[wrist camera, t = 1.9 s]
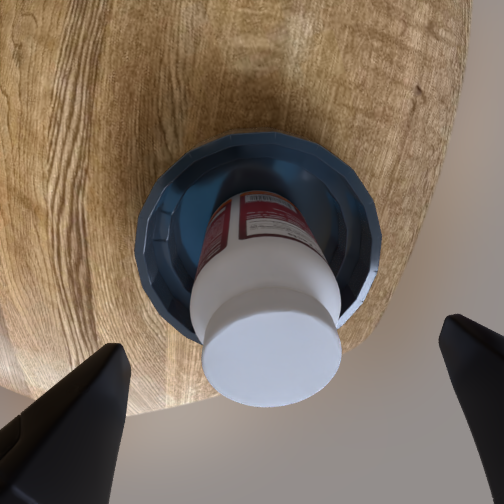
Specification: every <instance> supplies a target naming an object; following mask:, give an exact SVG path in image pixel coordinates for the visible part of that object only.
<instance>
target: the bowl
mask: <svg viewBox="0 0 504 504" xmlns="http://www.w3.org/2000/svg"><path fill="white" fill-rule="evenodd" d="M253 190H261V191H269V192H273V193H276V194H278V195H280V196H282V197H284V198H286V199H287V200H289V201H290V202H291V203H292V204H293V205H294V206H295V207H296V208H297V209H298V210H299V211H300V213H301V214H302V216H303V217H304V219H305V221H306V223H307V225H308V227H309V229H310V230H311V232H312V234H313V236H314V238H315V240H316V242H317V243H318V245H319V247H320V249H321V251H322V253H323V255H324V257H325V259H326V261H327V263H328V264H329V266H330V268H331V270H332V272H333V274H334V276H335V279H336V281H337V284H338V287H339V290H340V297H341V310H340V316H339V320H338V323H337V325H336V330H337V329H338V328H340V327H341V326H342V325H343V324H344V323H345V322H346V321H347V320H348V319H349V318H350V317H351V315H352V314H353V313H354V312H355V311H356V310H357V309H358V308H359V307H360V305H361V304H362V303H363V301H364V300H365V298H366V296H367V294H368V292H369V289H370V287H371V285H372V283H373V281H374V279H375V277H376V274H377V271H378V266H379V259H380V250H381V241H382V234H381V229H380V225H379V220H378V216H377V212H376V208H375V203H374V201H373V199H372V197H371V196H370V194H369V193H368V191H367V190H366V188H365V187H364V185H363V183H362V182H361V180H360V179H359V177H358V176H357V174H356V173H355V171H354V170H353V169H352V168H351V167H350V166H348V165H347V164H346V163H344V162H343V161H342V160H340V159H339V158H338V157H336V156H335V155H334V154H332V153H331V152H330V151H328V150H327V149H325V148H324V147H323V146H321V145H320V144H318V143H316V142H314V141H312V140H310V139H308V138H306V137H304V136H300V135H297V134H293V133H290V132H286V131H283V130H279V129H276V128H272V127H258V128H241V129H233V130H229V131H226V132H224V133H221V134H219V135H216V136H214V137H212V138H209V139H207V140H205V141H202V142H200V143H198V144H197V145H195V146H194V147H193V148H192V149H190V150H189V151H188V152H187V153H185V154H184V155H183V156H182V157H181V158H180V159H179V160H178V161H177V162H176V163H174V164H173V165H172V166H171V167H170V168H169V169H168V170H167V171H166V172H165V173H164V174H163V175H162V176H160V177H159V178H158V179H157V181H156V182H155V184H154V186H153V188H152V190H151V192H150V193H149V195H148V197H147V199H146V201H145V203H144V205H143V207H142V209H141V211H140V213H139V216H138V222H137V230H136V239H135V248H134V252H135V253H134V254H135V259H136V263H137V267H138V272H139V276H140V280H141V284H142V287H143V289H144V291H145V292H146V294H147V295H148V297H149V299H150V300H151V302H152V303H153V305H154V307H155V308H156V310H157V311H158V313H159V314H160V315H161V316H162V317H163V318H164V319H165V320H166V321H167V322H168V323H169V324H171V325H172V326H173V327H174V328H175V329H176V330H178V331H179V332H180V333H181V334H182V335H184V336H186V338H188V339H190V340H192V341H195V342H197V343H199V344H201V345H203V344H202V343H201V342H200V340H199V338H198V337H197V335H196V333H195V330H194V328H193V325H192V322H191V316H190V300H191V294H192V288H193V284H194V280H195V276H196V272H197V268H198V263H199V259H200V255H201V251H202V247H203V242H204V238H205V233H206V229H207V226H208V224H209V221H210V219H211V217H212V216H213V214H214V213H215V211H216V210H217V209H218V208H219V207H220V206H221V205H222V204H223V203H224V202H225V201H226V200H228V199H229V198H231V197H233V196H235V195H237V194H240V193H243V192H247V191H253Z"/></svg>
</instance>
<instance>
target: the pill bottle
mask: <svg viewBox="0 0 504 504" xmlns="http://www.w3.org/2000/svg"><path fill="white" fill-rule="evenodd" d="M340 310H341V297H340V290H339V287H338V284H337V281H336V279H335V276H334V274H333V272H332V270H331V268H330V266H329V264H328V263H327V261H326V259H325V257H324V255H323V253H322V251H321V249H320V247H319V245H318V243H317V242H316V240H315V238H314V236H313V234H312V232H311V230H310V229H309V227H308V225H307V223H306V221H305V219H304V217H303V216H302V214H301V213H300V211H299V210H298V209H297V208H296V207H295V206H294V205H293V204H292V203H291V202H290V201H289V200H287V199H286V198H284V197H282V196H280V195H278V194H276V193H273V192H269V191H261V190H253V191H247V192H243V193H240V194H237V195H235V196H233V197H231V198H229V199H228V200H226V201H225V202H224V203H223V204H222V205H221V206H220V207H219V208H218V209H217V210H216V211H215V213H214V214H213V216H212V217H211V219H210V221H209V224H208V226H207V229H206V233H205V238H204V242H203V247H202V251H201V255H200V259H199V263H198V268H197V272H196V276H195V280H194V284H193V288H192V294H191V300H190V316H191V322H192V325H193V328H194V330H195V333H196V335H197V337H198V338H199V340H200V342H201V343H202V344H203V349H202V359H201V360H202V367H203V371H204V374H205V376H206V378H207V380H208V381H209V383H210V384H211V385H212V386H213V387H214V388H215V389H216V390H217V391H218V392H219V393H221V394H222V395H224V396H225V397H227V398H229V399H231V400H234V401H236V402H238V403H242V404H245V405H249V406H256V407H277V406H283V405H288V404H292V403H296V402H299V401H301V400H304V399H306V398H308V397H310V396H312V395H313V394H315V393H316V392H318V391H319V390H321V389H322V388H323V387H325V385H327V383H328V382H329V381H330V380H331V379H332V378H333V376H334V375H335V373H336V371H337V370H338V367H339V365H340V362H341V354H342V348H341V342H340V339H339V336H338V333H337V330H336V325H337V323H338V320H339V316H340Z"/></svg>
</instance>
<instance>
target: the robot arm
mask: <svg viewBox="0 0 504 504" xmlns="http://www.w3.org/2000/svg"><path fill="white" fill-rule="evenodd" d="M439 347H440V350H441V352H442V355H443V358H444V361H445V364H446V367H447V370H448V373H449V376H450V379H451V382H452V385H453V388H454V390H455V393H456V395H457V398H458V400H459V403H460V405H461V408H462V410H463V412H464V415H465V417H466V420H467V423H468V425H469V428H470V430H471V433H472V436H473V438H474V441H475V444H476V446H477V450H478V452H479V455H480V458H481V461H482V464H483V467H484V471H485V474H486V477H487V480H488V483H489V486H490V490H491V494H492V497H493V498H494V499H493V501H494V504H504V336H502V335H500V334H498V333H496V332H494V331H492V330H490V329H488V328H486V327H484V326H482V325H480V324H478V323H477V322H475V321H472V320H471V319H469V318H466V317H464V316H463V315H461V314H454V315H449V316H447V317H446V318H445V320H444V324H443V327H442V330H441V333H440V336H439ZM130 377H131V366H130V363H129V360H128V358H127V355H126V353H125V350H124V348H123V346H122V345H121V344H120V343H107V344H105V345H104V346H103V347H101V348H100V349H99V350H98V351H96V352H95V353H94V354H93V355H91V356H90V357H89V358H88V359H86V360H85V361H84V362H83V363H81V364H80V365H79V366H78V367H77V368H75V369H74V370H73V371H72V372H70V373H69V374H68V375H67V376H65V377H64V378H63V379H62V380H60V381H59V382H58V383H57V384H56V385H54V386H53V387H52V388H51V389H49V390H48V391H47V392H46V393H45V394H43V395H42V396H41V397H40V398H38V399H37V400H36V401H35V402H34V403H33V404H31V405H30V406H29V407H28V408H26V409H25V410H24V411H23V412H22V413H21V415H18V416H17V417H15V418H14V419H13V420H12V421H11V422H9V423H8V424H7V425H6V426H4V427H3V428H2V429H1V430H0V504H109V498H110V492H111V487H112V481H113V476H114V471H115V466H116V461H117V455H118V451H119V446H120V442H121V437H122V433H123V428H124V423H125V418H126V410H127V401H128V393H129V385H130Z"/></svg>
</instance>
